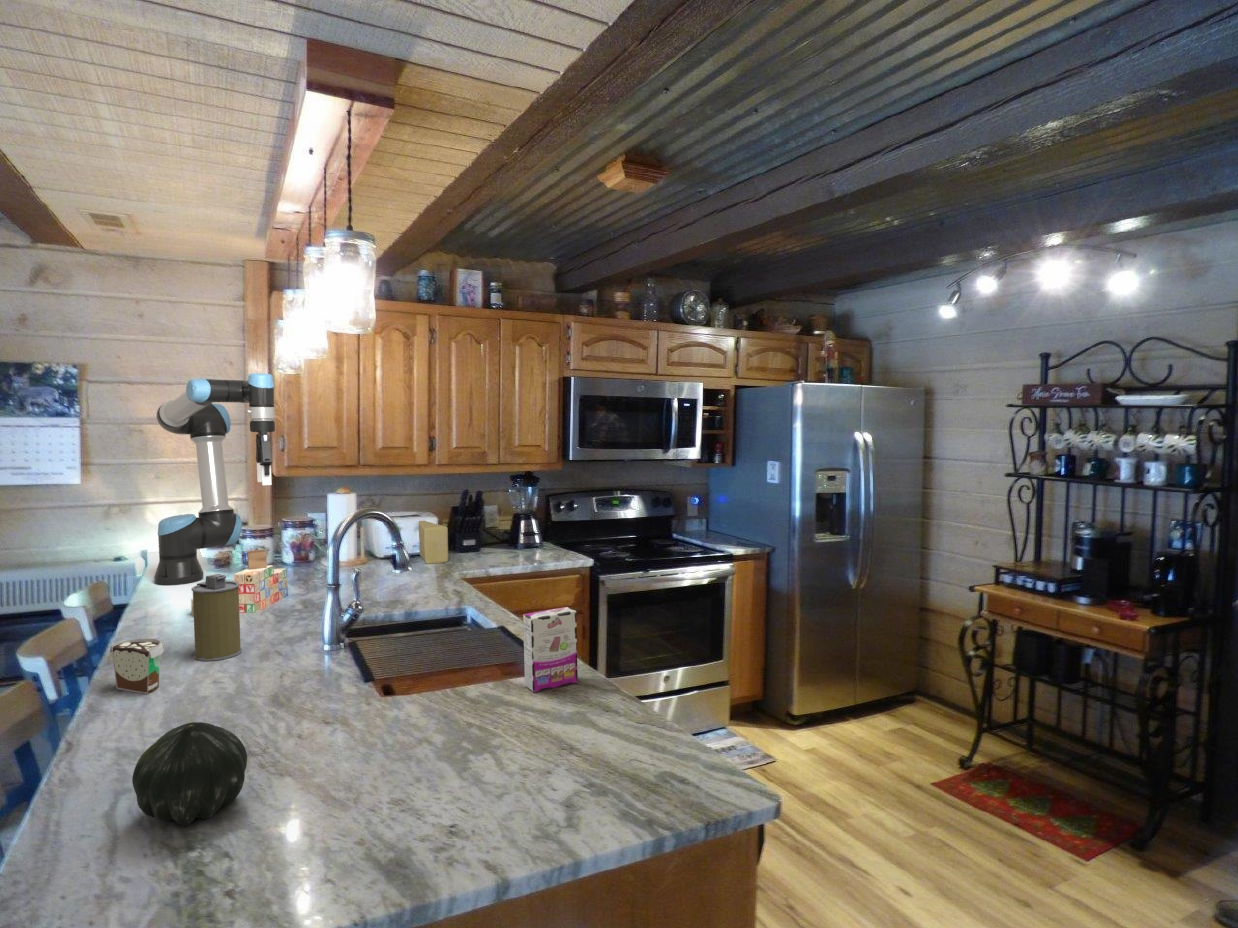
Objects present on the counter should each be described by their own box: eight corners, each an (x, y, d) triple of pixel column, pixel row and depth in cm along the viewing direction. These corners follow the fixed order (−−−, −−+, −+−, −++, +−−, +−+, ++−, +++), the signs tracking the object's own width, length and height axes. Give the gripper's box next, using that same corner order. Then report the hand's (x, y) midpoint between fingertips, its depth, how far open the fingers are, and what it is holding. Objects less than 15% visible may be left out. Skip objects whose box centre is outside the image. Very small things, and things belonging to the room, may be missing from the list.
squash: (191, 743, 121) (146, 701, 110) (277, 750, 119) (240, 708, 109) (144, 834, 111) (89, 798, 100) (237, 843, 109) (192, 807, 99)
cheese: (409, 555, 310) (409, 520, 309) (432, 553, 315) (431, 519, 314) (425, 564, 291) (424, 527, 290) (448, 562, 296) (448, 525, 295)
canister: (251, 651, 185) (248, 573, 183) (213, 663, 175) (209, 581, 174) (222, 645, 189) (219, 569, 188) (183, 657, 180) (180, 577, 178)
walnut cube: (247, 566, 229) (247, 550, 229) (265, 564, 232) (264, 549, 232) (248, 569, 225) (248, 553, 225) (266, 567, 228) (266, 551, 227)
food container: (178, 684, 162) (176, 640, 161) (153, 694, 156) (150, 649, 155) (138, 678, 166) (136, 635, 165) (111, 687, 160) (109, 643, 159)
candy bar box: (567, 676, 167) (567, 605, 166) (578, 683, 162) (578, 610, 161) (522, 686, 161) (522, 612, 160) (532, 693, 157) (532, 618, 155)
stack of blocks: (269, 595, 242) (268, 559, 241) (288, 595, 241) (287, 559, 241) (235, 613, 220) (233, 573, 219) (255, 613, 220) (254, 573, 219)
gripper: (245, 419, 252) (247, 481, 253) (253, 420, 231) (256, 487, 232) (269, 419, 256) (271, 480, 257) (279, 420, 235) (281, 485, 236)
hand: (264, 483), depth 245 cm, fingers open, 13 cm apart
